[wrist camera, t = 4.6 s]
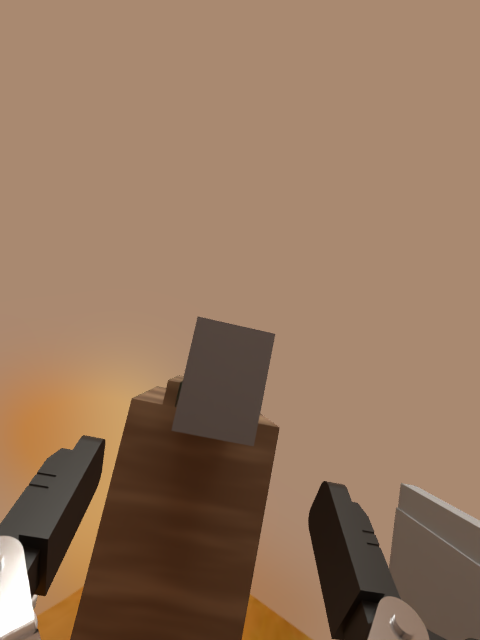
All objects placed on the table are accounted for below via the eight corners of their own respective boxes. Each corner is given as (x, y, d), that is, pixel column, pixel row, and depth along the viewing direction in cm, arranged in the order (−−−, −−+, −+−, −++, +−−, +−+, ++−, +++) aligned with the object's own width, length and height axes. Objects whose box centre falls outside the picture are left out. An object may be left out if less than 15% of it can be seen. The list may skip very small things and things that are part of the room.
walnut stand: (166, 1055, 17) (283, 403, 23) (-36, 1052, 16) (138, 374, 22) (180, 749, 31) (251, 390, 37) (71, 739, 30) (160, 371, 36)
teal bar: (253, 446, 14) (275, 333, 15) (171, 430, 14) (197, 316, 15) (218, 397, 38) (227, 354, 39) (187, 391, 38) (197, 347, 38)
